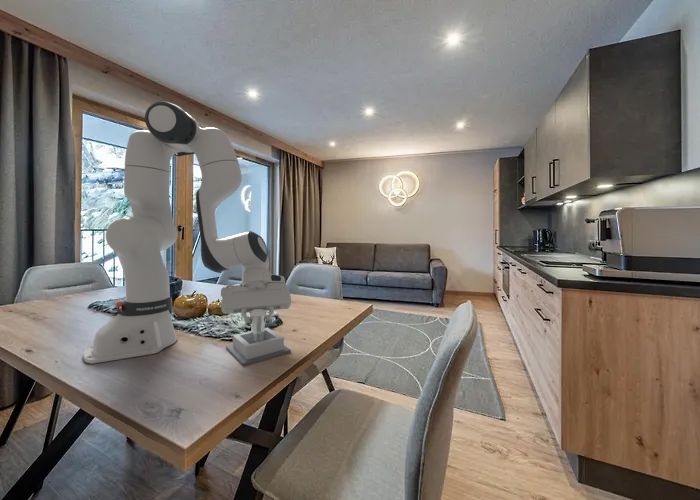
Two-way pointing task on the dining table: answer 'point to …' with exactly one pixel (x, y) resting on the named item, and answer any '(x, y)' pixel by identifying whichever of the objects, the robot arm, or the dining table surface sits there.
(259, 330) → the milkshake
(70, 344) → the dining table surface
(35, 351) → the dining table surface
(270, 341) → the sleeve housing
